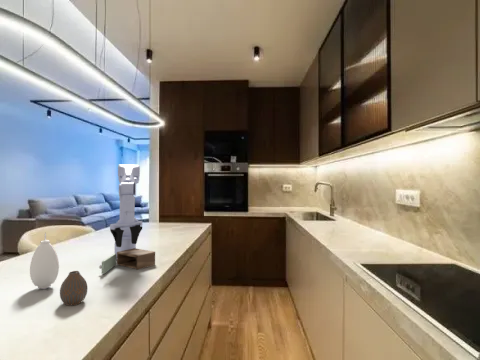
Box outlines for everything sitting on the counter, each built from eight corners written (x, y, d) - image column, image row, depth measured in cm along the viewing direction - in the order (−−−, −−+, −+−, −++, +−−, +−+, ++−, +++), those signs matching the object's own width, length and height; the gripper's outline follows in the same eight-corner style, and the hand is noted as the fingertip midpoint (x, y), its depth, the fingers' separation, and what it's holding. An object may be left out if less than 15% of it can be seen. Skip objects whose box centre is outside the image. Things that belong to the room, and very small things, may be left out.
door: (111, 264, 128) (111, 253, 128) (116, 264, 128) (116, 253, 128) (98, 273, 114) (99, 261, 114) (104, 273, 114) (104, 261, 114)
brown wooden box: (116, 265, 128) (116, 251, 128) (134, 260, 136) (134, 248, 136) (137, 269, 121) (138, 255, 121) (155, 264, 129) (155, 251, 129)
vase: (58, 309, 82) (59, 276, 82) (60, 300, 88) (60, 270, 88) (87, 305, 85) (88, 273, 86) (87, 296, 91) (87, 267, 92)
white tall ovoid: (37, 294, 93) (38, 235, 94) (24, 289, 98) (26, 232, 98) (63, 287, 100) (64, 231, 100) (50, 282, 104) (51, 230, 105)
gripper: (118, 213, 116) (118, 249, 116) (147, 211, 129) (147, 243, 129) (106, 212, 120) (106, 247, 120) (136, 210, 132) (135, 241, 132)
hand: (126, 245), depth 124 cm, fingers open, 7 cm apart
